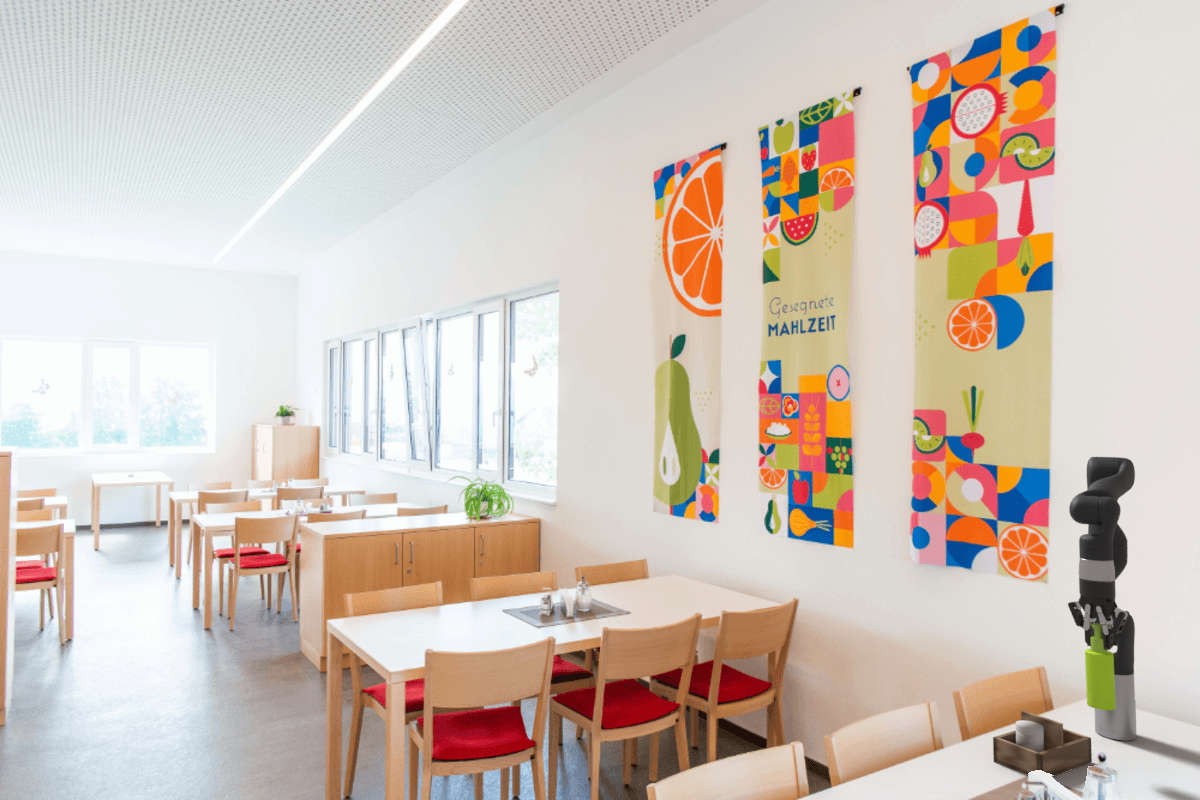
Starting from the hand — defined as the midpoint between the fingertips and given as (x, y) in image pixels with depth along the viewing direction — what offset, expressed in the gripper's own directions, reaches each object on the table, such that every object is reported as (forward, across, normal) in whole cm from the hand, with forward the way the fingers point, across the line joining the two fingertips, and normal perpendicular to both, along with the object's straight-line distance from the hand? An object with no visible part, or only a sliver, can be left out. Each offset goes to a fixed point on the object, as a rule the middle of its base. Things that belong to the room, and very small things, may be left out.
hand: (1098, 647), depth 189 cm
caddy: (+29, +9, +10) cm, 32 cm away
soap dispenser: (+14, -1, 0) cm, 14 cm away
